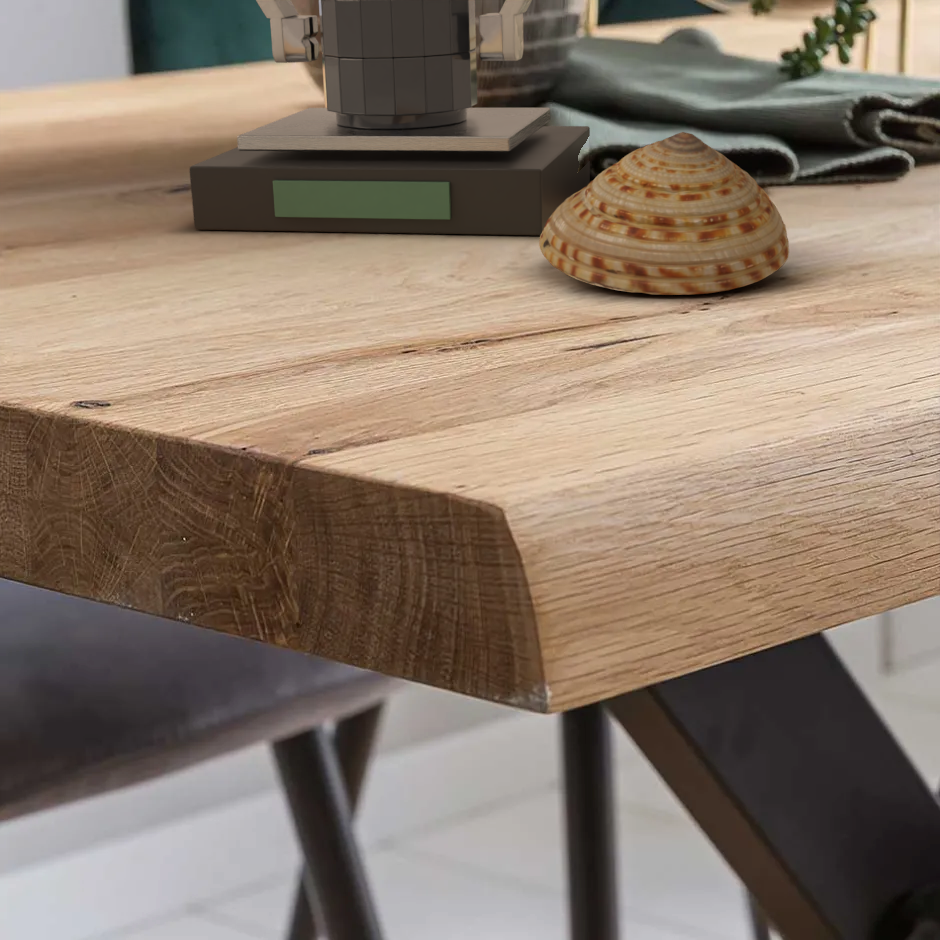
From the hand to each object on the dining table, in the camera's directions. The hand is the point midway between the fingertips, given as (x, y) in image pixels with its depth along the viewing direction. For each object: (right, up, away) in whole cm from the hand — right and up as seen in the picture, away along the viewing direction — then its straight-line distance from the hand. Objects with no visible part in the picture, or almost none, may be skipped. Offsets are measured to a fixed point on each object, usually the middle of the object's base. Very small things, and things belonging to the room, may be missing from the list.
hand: (397, 60), depth 64 cm
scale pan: (0, -3, +1) cm, 3 cm away
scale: (0, -6, +2) cm, 6 cm away
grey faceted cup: (0, -2, +1) cm, 2 cm away
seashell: (+9, -10, -11) cm, 17 cm away
